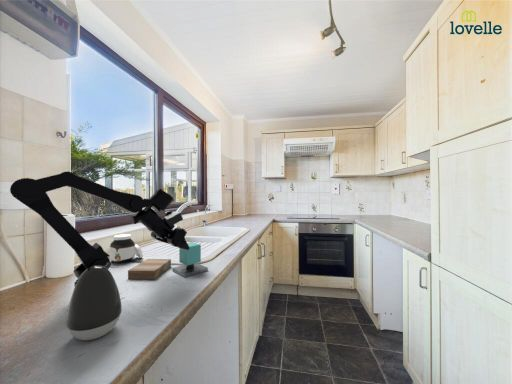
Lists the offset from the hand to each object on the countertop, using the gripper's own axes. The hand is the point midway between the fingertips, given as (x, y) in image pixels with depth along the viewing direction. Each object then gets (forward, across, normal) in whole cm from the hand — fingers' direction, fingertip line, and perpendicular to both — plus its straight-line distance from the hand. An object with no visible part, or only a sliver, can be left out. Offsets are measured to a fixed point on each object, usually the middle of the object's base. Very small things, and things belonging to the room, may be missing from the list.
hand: (182, 246), depth 89 cm
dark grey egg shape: (-16, -20, +30) cm, 40 cm away
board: (+1, +10, +13) cm, 16 cm away
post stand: (+9, 0, +5) cm, 11 cm away
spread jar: (0, +34, +14) cm, 37 cm away
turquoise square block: (+7, 0, +3) cm, 7 cm away
